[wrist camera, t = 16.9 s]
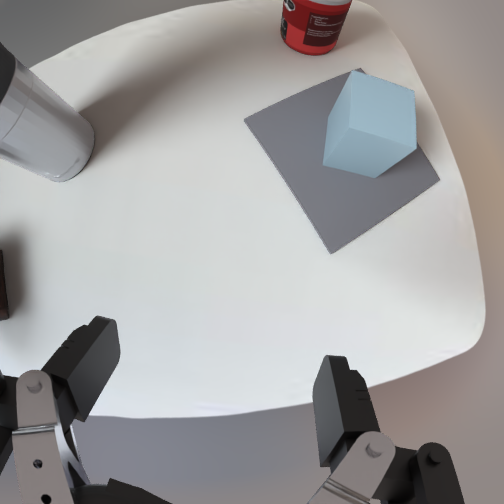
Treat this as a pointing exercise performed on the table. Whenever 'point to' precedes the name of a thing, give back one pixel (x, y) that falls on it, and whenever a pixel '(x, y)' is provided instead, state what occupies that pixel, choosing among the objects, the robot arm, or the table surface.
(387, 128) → the light blue tall box
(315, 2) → the canned food
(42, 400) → the robot arm
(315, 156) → the mat
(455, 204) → the table surface
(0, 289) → the pepper mill
